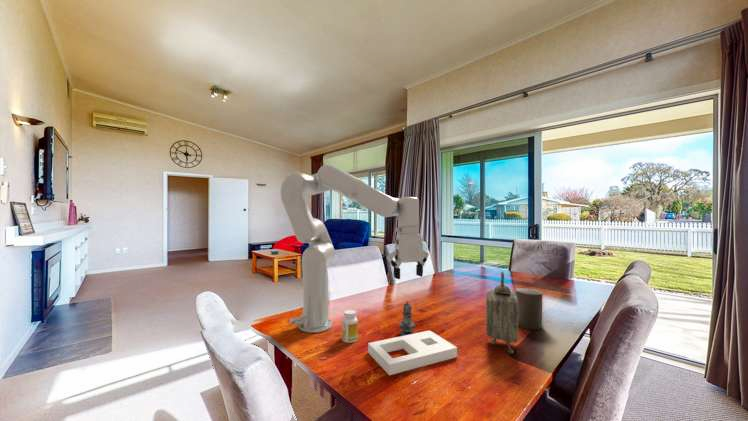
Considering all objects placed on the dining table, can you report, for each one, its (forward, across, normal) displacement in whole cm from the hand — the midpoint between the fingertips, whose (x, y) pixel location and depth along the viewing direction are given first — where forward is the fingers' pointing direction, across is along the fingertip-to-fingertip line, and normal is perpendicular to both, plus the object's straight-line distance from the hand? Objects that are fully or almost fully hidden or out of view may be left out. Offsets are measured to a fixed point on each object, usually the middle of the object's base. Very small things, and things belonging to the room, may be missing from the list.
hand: (408, 277), depth 107 cm
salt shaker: (+21, 0, 0) cm, 21 cm away
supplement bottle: (+21, -21, +4) cm, 30 cm away
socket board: (+21, -7, -14) cm, 26 cm away
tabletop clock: (+21, +24, -21) cm, 38 cm away
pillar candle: (+22, +49, -13) cm, 55 cm away
